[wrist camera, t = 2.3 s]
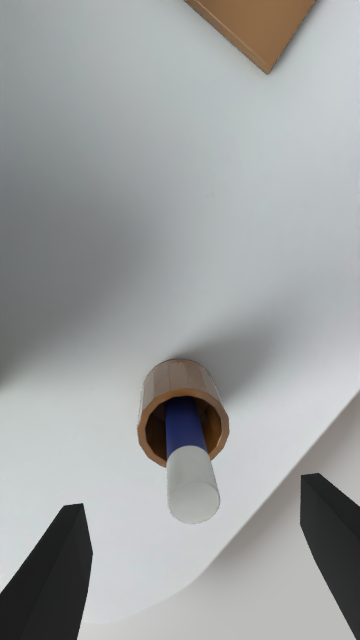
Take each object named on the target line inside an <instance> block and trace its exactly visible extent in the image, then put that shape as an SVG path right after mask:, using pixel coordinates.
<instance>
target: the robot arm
mask: <svg viewBox="0 0 360 640" xmlns="http://www.w3.org/2000/svg"><path fill="white" fill-rule="evenodd" d="M300 525H301V528H302V530H303V533H304V536H305V538H306V541H307V543H308V545H309V548H310V550H311V553H312V555H313V557H314V560H315V562H316V564H317V566H318V568H319V570H320V571H321V573H322V575H323V577H324V579H325V581H326V583H327V585H328V587H329V589H330V591H331V593H332V594H333V596H334V598H335V600H336V602H337V604H338V606H339V608H340V610H341V612H342V613H343V615H344V617H345V619H346V621H347V623H348V625H349V627H350V629H351V630H352V632H353V634H354V636H355V638H356V640H360V506H358V505H357V504H356V503H355V502H353V501H352V500H351V499H350V498H349V497H347V496H346V495H345V494H344V493H342V492H341V491H340V490H339V489H338V488H336V487H335V486H334V485H333V484H332V483H330V482H329V481H328V480H327V479H325V478H324V477H323V476H322V475H321V474H319V473H315V474H307V475H301V506H300ZM92 556H93V551H92V546H91V541H90V536H89V530H88V525H87V520H86V515H85V510H84V505H83V503H81V504H73V505H65V506H63V507H62V509H61V510H60V511H59V513H58V514H57V516H56V517H55V519H54V520H53V522H52V523H51V524H50V526H49V527H48V529H47V530H46V532H45V533H44V535H43V536H42V537H41V539H40V540H39V542H38V543H37V545H36V546H35V547H34V549H33V550H32V552H31V553H30V554H29V556H28V557H27V559H26V560H25V561H24V563H23V564H22V565H21V567H20V568H19V570H18V571H17V572H16V574H15V575H14V576H13V578H12V579H11V580H10V582H9V583H8V584H7V586H6V587H5V588H4V589H3V591H2V592H1V593H0V640H77V637H78V632H79V628H80V624H81V620H82V615H83V611H84V606H85V602H86V597H87V593H88V586H89V579H90V572H91V564H92Z"/></svg>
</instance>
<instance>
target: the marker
mask: <svg viewBox="0 0 360 640" xmlns="http://www.w3.org/2000/svg"><path fill="white" fill-rule="evenodd" d="M165 422H166V443H167V465H166V468H167V492H168V508H169V511H170V513H171V514H172V516H173V517H174V518H175V519H177V520H178V521H180V522H183V523H186V524H198V523H202V522H204V521H206V520H208V519H210V518H211V517H212V516H213V515H214V514H215V513H216V512H217V510H218V508H219V505H220V496H219V491H218V487H217V483H216V479H215V475H214V471H213V467H212V463H211V459H210V457H209V455H208V452H207V448H206V444H205V439H204V435H203V431H202V427H201V423H200V419H199V415H198V410H197V406H196V402H195V398H194V397H193V396H189V395H188V396H179V397H172V398H170V399H168V400H166V401H165Z"/></svg>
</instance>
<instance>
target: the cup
mask: <svg viewBox="0 0 360 640" xmlns="http://www.w3.org/2000/svg"><path fill="white" fill-rule="evenodd" d="M188 395H189V396H193V397H194V398H195V402H196V406H197V410H198V415H199V419H200V423H201V427H202V431H203V435H204V439H205V444H206V448H207V452H208V455H209V457H210V459H211V460H213V459H214V458H215V457H216V456H217V455H218V453H219V452H220V451H221V450H222V449H223V448H224V445H225V443H226V440H227V438H228V435H229V417H228V415H227V412H226V410H225V407H224V405H223V402H222V400H221V398H220V395H219V393H218V390H217V388H216V385H215V383H214V382H213V379H212V377H211V376H210V374H209V373H208V371H207V370H206V369H205V368H204V367H203V366H201V365H200V364H198V363H196V362H193V361H191V360H186V359H173V360H169V361H165V362H163V363H161V364H159V365H158V366H156V367H155V368H154V369H153V370H152V371H151V372H150V373H149V374H148V375H147V377H146V379H145V381H144V383H143V387H142V391H141V397H140V406H139V415H138V424H137V432H138V439H139V444H140V446H141V447H142V449H143V450H144V452H145V454H146V455H147V457H148V458H150V459H151V460H153V461H154V462H156V463H157V464H159V465H160V466H162V467H166V465H167V443H166V422H165V401H166V400H168V399H170V398H172V397H179V396H188Z"/></svg>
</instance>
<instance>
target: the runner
mask: <svg viewBox="0 0 360 640" xmlns="http://www.w3.org/2000/svg"><path fill="white" fill-rule="evenodd" d="M184 1H185V2H186V3H188V4H189V5H190V6H191V7H192V8H193V9H194V10H195V11H196V12H198V13H199V14H200V15H201V16H202V17H203V18H204V19H205V20H207V21H208V22H209V23H210V24H211V25H212V26H213V27H214V28H215V29H217V30H218V31H219V32H220V33H221V34H222V35H223V36H224V37H225V38H227V39H228V40H229V41H230V42H231V43H232V44H233V45H234V46H236V47H237V48H238V49H239V50H240V51H241V52H242V53H243V54H244V55H246V56H247V57H248V58H249V59H250V60H251V61H252V62H253V63H254V64H256V65H257V66H258V67H259V68H260V69H261V70H262V71H263V72H265V73H266V74H269V72H270V70H271V69H272V67H273V66H274V64H275V63H276V61H277V60H278V58H279V57H280V55H281V53H282V52H283V50H284V49H285V47H286V46H287V44H288V43H289V41H290V40H291V38H292V36H293V35H294V33H295V32H296V30H297V29H298V27H299V26H300V24H301V23H302V21H303V19H304V18H305V16H306V15H307V13H308V12H309V10H310V9H311V7H312V5H313V4H314V2H315V1H316V0H184Z"/></svg>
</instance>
